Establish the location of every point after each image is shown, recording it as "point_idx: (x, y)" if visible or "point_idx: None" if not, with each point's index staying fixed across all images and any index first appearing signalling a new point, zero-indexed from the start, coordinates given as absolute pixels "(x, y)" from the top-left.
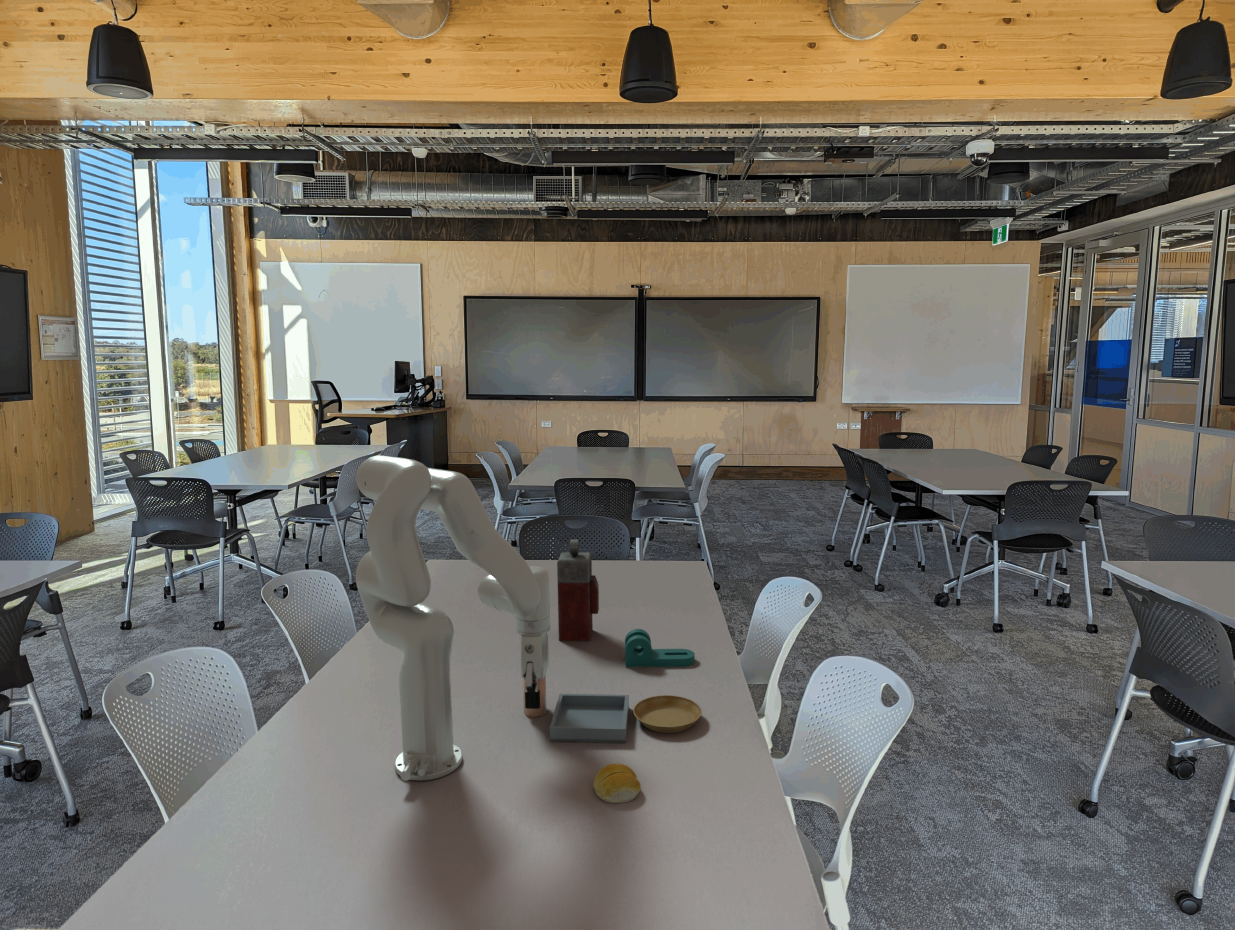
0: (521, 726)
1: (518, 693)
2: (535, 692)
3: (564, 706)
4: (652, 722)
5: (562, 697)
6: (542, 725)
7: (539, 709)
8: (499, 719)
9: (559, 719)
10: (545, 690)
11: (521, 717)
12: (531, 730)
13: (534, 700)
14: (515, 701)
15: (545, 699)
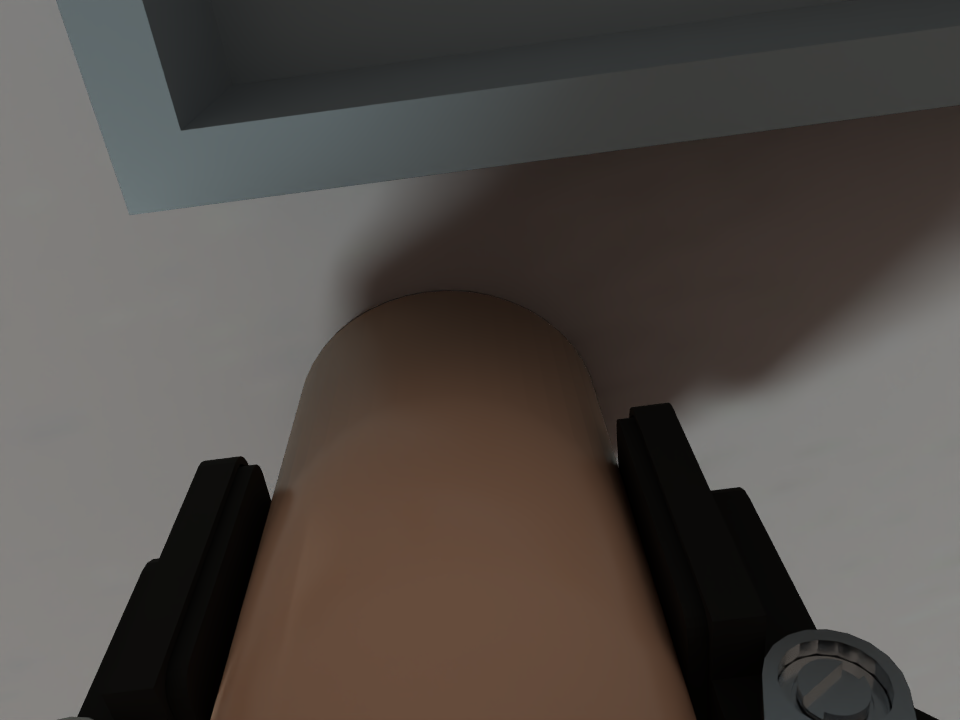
0: (840, 463)
1: (48, 704)
2: (797, 661)
3: (258, 47)
4: None
5: (232, 118)
6: (825, 232)
7: (580, 391)
8: None
9: (742, 6)
10: (449, 503)
11: None
12: (954, 329)
13: (772, 555)
14: None
15: (462, 397)
